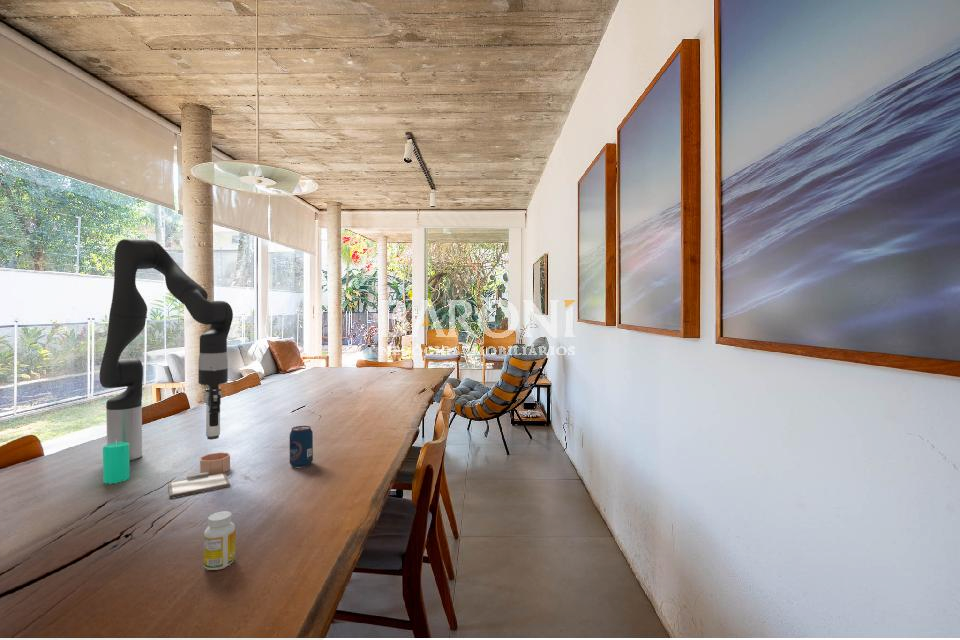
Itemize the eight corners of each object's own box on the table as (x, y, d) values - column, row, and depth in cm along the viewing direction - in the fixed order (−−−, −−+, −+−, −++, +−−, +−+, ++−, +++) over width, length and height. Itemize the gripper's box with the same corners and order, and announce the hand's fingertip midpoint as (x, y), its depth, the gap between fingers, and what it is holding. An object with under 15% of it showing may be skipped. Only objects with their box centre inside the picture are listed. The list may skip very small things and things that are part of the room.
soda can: (284, 466, 141) (284, 429, 141) (301, 460, 148) (300, 424, 148) (301, 469, 139) (301, 431, 139) (317, 462, 145) (317, 426, 145)
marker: (205, 437, 134) (205, 397, 134) (219, 435, 136) (219, 396, 136) (206, 440, 131) (206, 400, 131) (221, 438, 133) (221, 398, 133)
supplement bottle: (209, 575, 83) (209, 525, 83) (199, 565, 87) (199, 516, 87) (240, 563, 88) (239, 515, 87) (229, 553, 91) (228, 507, 91)
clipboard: (168, 485, 126) (168, 479, 126) (224, 474, 134) (224, 468, 134) (169, 498, 117) (169, 491, 117) (229, 486, 126) (229, 480, 126)
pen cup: (199, 469, 138) (199, 455, 138) (227, 464, 143) (227, 451, 143) (201, 477, 132) (201, 462, 132) (231, 471, 137) (231, 457, 137)
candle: (114, 485, 126) (114, 443, 126) (97, 483, 127) (97, 441, 127) (135, 477, 132) (134, 437, 132) (118, 475, 133) (117, 435, 133)
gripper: (196, 365, 137) (196, 420, 137) (200, 371, 125) (200, 432, 126) (224, 363, 141) (224, 417, 142) (230, 369, 130) (230, 428, 130)
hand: (213, 424), depth 134 cm, fingers closed on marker, 3 cm apart
